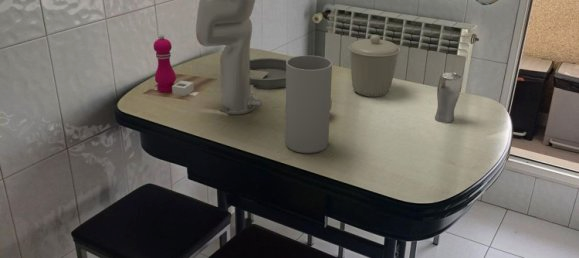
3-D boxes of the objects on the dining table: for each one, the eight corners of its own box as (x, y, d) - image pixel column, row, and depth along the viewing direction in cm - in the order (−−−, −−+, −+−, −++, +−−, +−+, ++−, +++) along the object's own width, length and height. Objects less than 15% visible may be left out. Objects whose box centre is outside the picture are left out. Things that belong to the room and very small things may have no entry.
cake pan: (255, 64, 222) (255, 54, 220) (310, 74, 212) (310, 63, 210) (222, 83, 202) (222, 72, 200) (281, 95, 192) (281, 83, 190)
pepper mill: (179, 86, 193) (175, 32, 185) (173, 94, 187) (168, 37, 178) (159, 85, 194) (154, 31, 185) (153, 92, 188) (147, 37, 179)
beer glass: (440, 124, 171) (446, 80, 164) (429, 116, 177) (435, 72, 170) (459, 122, 172) (466, 78, 166) (448, 114, 178) (454, 71, 172)
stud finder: (194, 90, 190) (193, 82, 189) (185, 96, 185) (184, 88, 184) (181, 88, 192) (181, 80, 191) (172, 94, 187) (171, 85, 185)
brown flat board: (217, 82, 202) (217, 78, 201) (189, 104, 183) (189, 100, 182) (174, 76, 207) (174, 73, 206) (143, 97, 188) (142, 93, 187)
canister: (335, 90, 196) (338, 33, 187) (368, 79, 207) (372, 25, 198) (373, 105, 184) (378, 45, 175) (406, 92, 195) (412, 36, 186)
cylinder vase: (329, 136, 162) (333, 56, 151) (326, 156, 151) (330, 71, 140) (288, 133, 164) (289, 54, 153) (282, 152, 152) (282, 68, 142)
